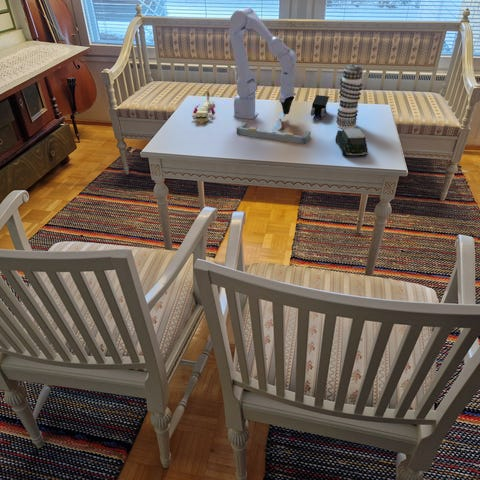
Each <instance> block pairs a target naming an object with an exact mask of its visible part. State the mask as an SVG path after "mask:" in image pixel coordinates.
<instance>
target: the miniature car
mask: <svg viewBox="0 0 480 480" xmlns="http://www.w3.org/2000/svg"><path fill="white" fill-rule="evenodd" d="M334 141H335V143H336V144H337V145H338V146H339V147H340V149H341V154H342V157H347V156H359V155H362V156H363V157H364V156H368V151H369V150H368V146H367V145H368V144H367V139H366V135H365V134H364V132H363V131H362V130H361V128H357V127H355V128H347V129H343V130H341V129H340V130H337V133H336V136H335V140H334Z"/></svg>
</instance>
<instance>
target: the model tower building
mask: <svg viewBox="0 0 480 480" xmlns="http://www.w3.org/2000/svg"><path fill="white" fill-rule="evenodd" d="M363 72H364V69H363V68H362V66H361V65H360V64H355V63H354V64H353V63H351V64H348V65H346V66H345V67H344V68H343V74H342V78H341V79H340V84H339V85H340V87H339V93H338V94H340V95H339V96H338V98H339V104H338V108H337V116H336V120H335V126H336V127H337V128H339V129H347V128H356V125H357V120H358V119H357V117H358V112H359V110H358V106H359V104H358V103H359V101H360V99H361V95H362V94H361V91H362V89H363V88H362V87H363V83H362V81H363Z"/></svg>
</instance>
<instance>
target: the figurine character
mask: <svg viewBox="0 0 480 480" xmlns="http://www.w3.org/2000/svg"><path fill="white" fill-rule="evenodd" d="M329 99H330V96H328V95H321V94H320V95H319V94H316V95H315V97H314V100H313V102H312V103H311V110H310V116H311V117H312V118H313V120H316V118H319V121H321V120H322V118H323V117H325V115H326V114H327V104H328V101H329Z"/></svg>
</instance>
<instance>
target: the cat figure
mask: <svg viewBox="0 0 480 480" xmlns="http://www.w3.org/2000/svg"><path fill="white" fill-rule="evenodd" d="M199 106H200V104H198V105H196V107H194V110H193V114H191V117H192V118H193V119H195V121H196V122H198V123H199V124H203V123H205V122H209V121H210V120H211V119H212V118H213V117H214V115H215V114H216V111H215V110H214V107H215V106H216V103H215V102H214V100H210V91H206V100H204V101H203V103H202V105H201V108H200V109H199V110H198V109H197V108H199ZM209 109H210V112H211V113H209Z"/></svg>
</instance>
